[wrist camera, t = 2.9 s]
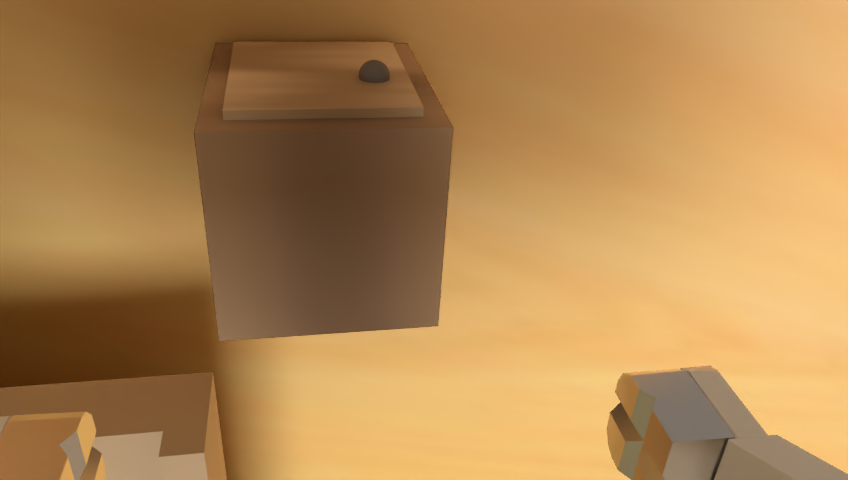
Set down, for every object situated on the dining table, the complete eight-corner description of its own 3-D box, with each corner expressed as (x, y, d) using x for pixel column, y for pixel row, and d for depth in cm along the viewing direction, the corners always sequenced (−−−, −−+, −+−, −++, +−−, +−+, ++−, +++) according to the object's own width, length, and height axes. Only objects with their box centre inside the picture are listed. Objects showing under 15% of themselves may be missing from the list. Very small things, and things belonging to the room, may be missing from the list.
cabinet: (232, 212, 21) (218, 341, 16) (213, 19, 18) (190, 101, 13) (400, 206, 22) (437, 326, 17) (407, 20, 19) (455, 98, 14)
